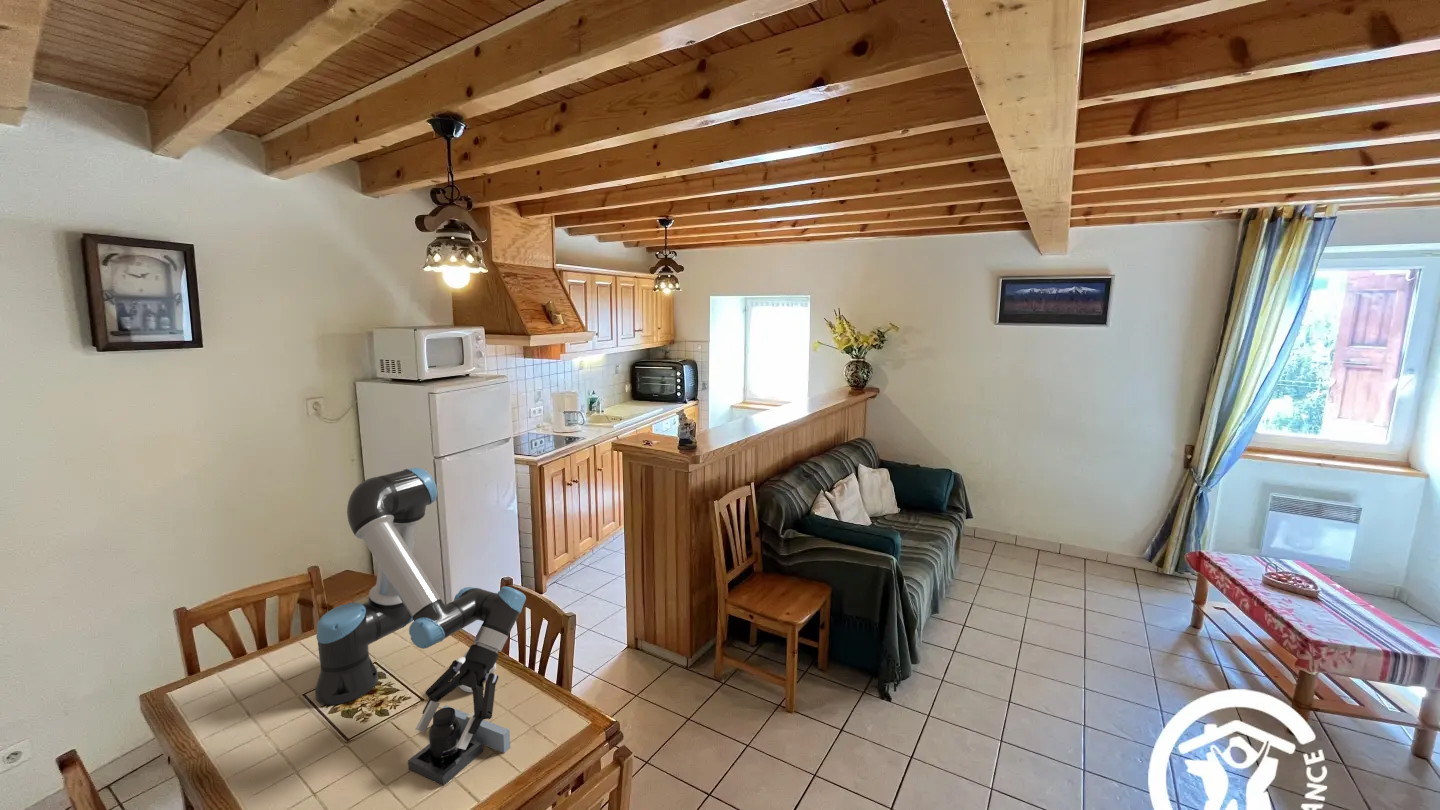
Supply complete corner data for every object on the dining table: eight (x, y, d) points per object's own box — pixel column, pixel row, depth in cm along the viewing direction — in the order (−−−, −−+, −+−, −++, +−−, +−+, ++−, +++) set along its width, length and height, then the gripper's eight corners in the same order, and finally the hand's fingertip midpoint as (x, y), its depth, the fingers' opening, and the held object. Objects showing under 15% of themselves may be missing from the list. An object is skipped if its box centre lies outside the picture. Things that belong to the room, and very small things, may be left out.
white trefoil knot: (498, 667, 173) (496, 640, 172) (495, 691, 162) (494, 663, 160) (457, 674, 169) (456, 647, 168) (452, 699, 158) (450, 670, 157)
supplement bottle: (449, 772, 132) (446, 725, 130) (424, 767, 133) (420, 721, 132) (468, 750, 139) (465, 706, 137) (443, 746, 140) (440, 702, 138)
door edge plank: (440, 727, 147) (438, 705, 146) (446, 722, 149) (445, 700, 148) (504, 753, 138) (502, 730, 138) (510, 747, 140) (509, 725, 139)
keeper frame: (408, 769, 133) (407, 760, 133) (449, 737, 144) (448, 728, 143) (443, 785, 129) (442, 776, 128) (482, 751, 139) (482, 742, 139)
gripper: (531, 664, 143) (488, 758, 131) (460, 641, 153) (414, 726, 141) (515, 656, 137) (468, 753, 126) (442, 632, 147) (393, 721, 136)
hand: (439, 739), depth 134 cm, fingers open, 13 cm apart
